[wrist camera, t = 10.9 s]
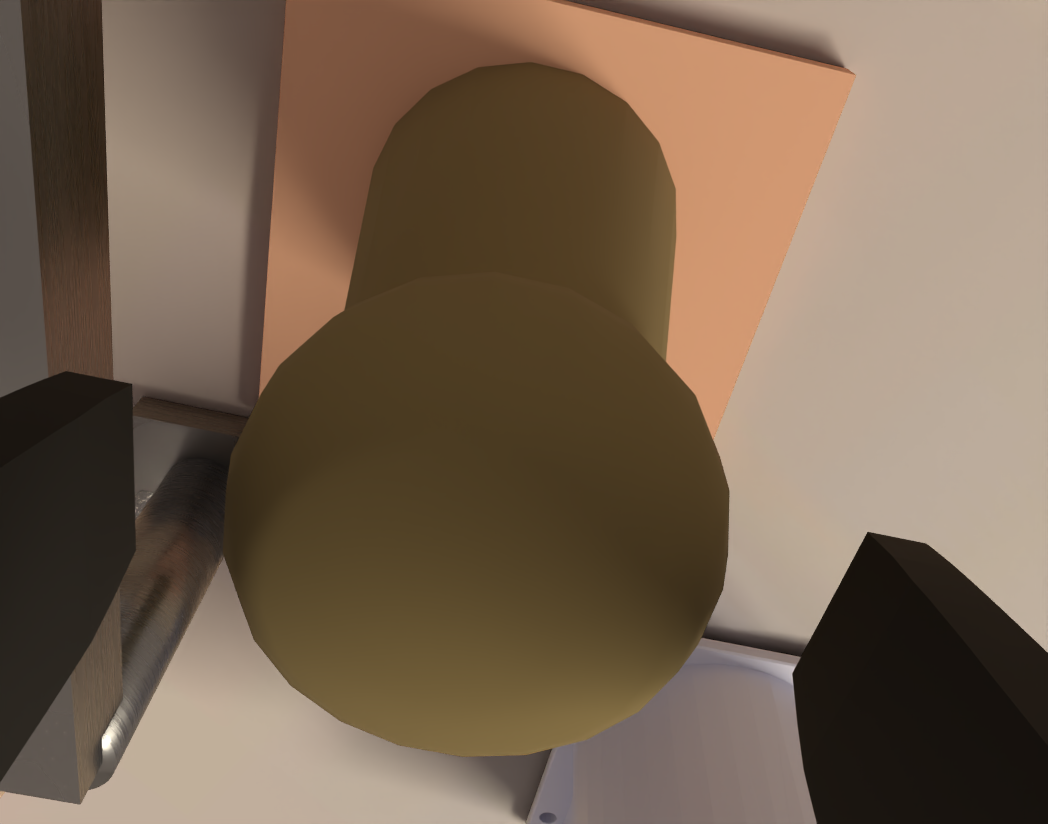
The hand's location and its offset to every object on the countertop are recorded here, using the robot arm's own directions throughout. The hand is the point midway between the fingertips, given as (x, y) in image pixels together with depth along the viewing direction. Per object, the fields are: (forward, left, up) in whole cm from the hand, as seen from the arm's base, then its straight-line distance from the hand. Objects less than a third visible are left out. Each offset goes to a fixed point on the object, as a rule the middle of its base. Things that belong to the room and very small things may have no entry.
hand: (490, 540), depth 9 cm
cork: (0, 0, -10) cm, 10 cm away
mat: (-1, 0, -10) cm, 10 cm away
